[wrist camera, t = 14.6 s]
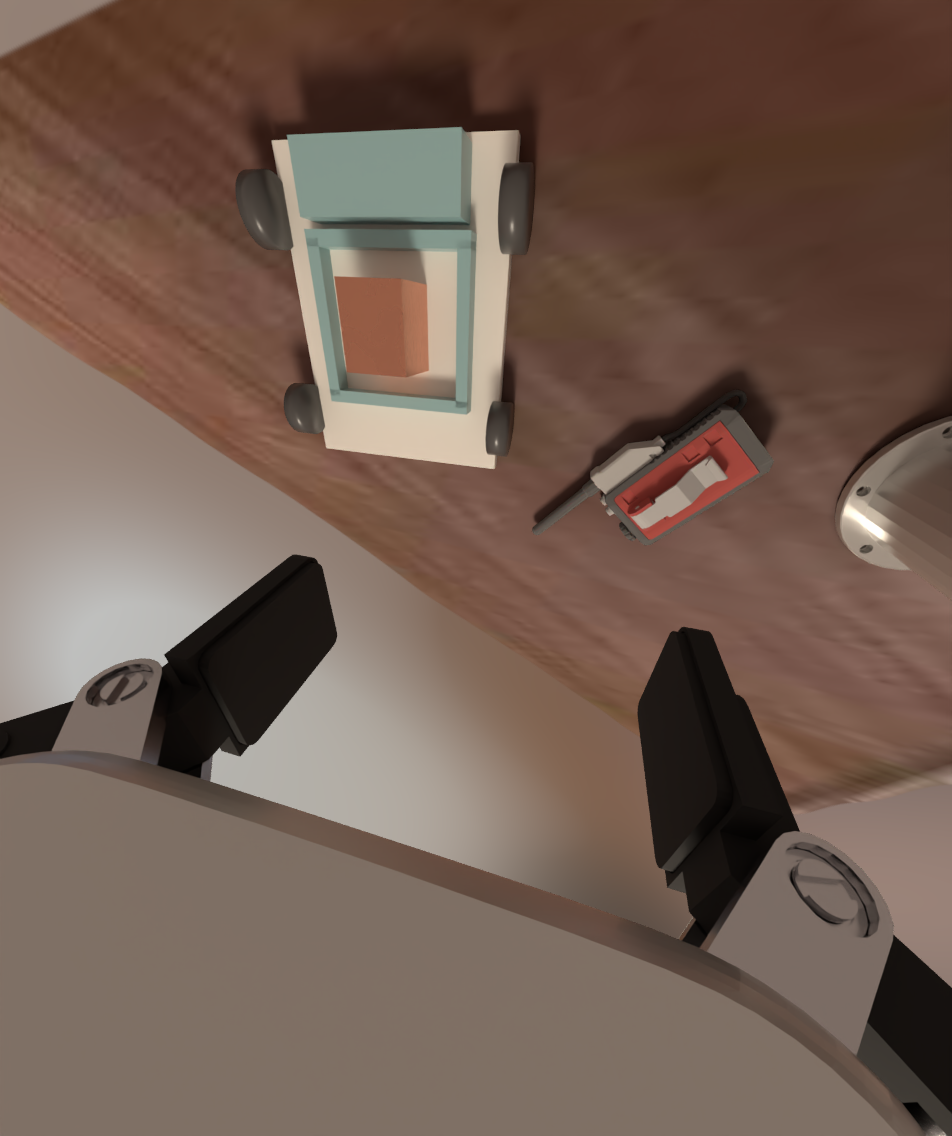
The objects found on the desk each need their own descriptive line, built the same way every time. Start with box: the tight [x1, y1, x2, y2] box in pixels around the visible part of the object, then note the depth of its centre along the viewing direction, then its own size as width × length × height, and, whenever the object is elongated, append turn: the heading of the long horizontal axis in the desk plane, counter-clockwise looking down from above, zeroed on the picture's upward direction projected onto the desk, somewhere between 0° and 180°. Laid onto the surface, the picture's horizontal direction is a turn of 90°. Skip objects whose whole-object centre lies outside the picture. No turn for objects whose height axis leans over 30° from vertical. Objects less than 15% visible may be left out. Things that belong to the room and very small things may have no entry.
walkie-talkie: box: [532, 390, 774, 545], centre depth 33 cm, size 9×4×20 cm
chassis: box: [236, 127, 534, 469], centre depth 31 cm, size 21×22×4 cm
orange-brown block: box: [334, 276, 429, 377], centre depth 29 cm, size 5×6×5 cm
